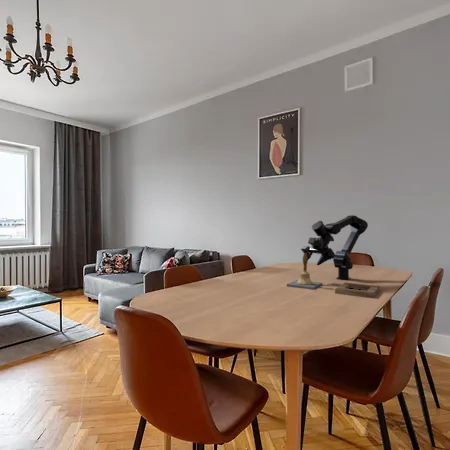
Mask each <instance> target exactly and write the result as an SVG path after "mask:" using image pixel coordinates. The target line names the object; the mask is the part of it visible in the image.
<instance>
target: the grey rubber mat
mask: <svg viewBox="0 0 450 450" xmlns="http://www.w3.org/2000/svg"><path fill="white" fill-rule="evenodd" d="M298 280H299V279H296V280H293V281H291V282H289V283H286V287H290V288H297V289H308V290H315V289H317V288H319V287H321V286H322V285H323V282H319V281H312V282H313V284H312V285H301V284H297V281H298Z"/></svg>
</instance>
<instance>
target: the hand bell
mask: <svg viewBox="0 0 450 450" xmlns="http://www.w3.org/2000/svg"><path fill="white" fill-rule="evenodd" d="M308 262H309V260H308V256H307V253H303V256H302V264H303V270H302V272H300V276H299V279H297V280H298V281H297V284H301V285H312V284H313V282H314V281H312V280H311V276H310V272H308V270H307V269H308V268H307V267H308Z"/></svg>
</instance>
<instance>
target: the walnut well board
mask: <svg viewBox="0 0 450 450" xmlns="http://www.w3.org/2000/svg"><path fill="white" fill-rule="evenodd" d="M349 288H353V289H349ZM358 289H361V290H358ZM366 290H367V291H366ZM379 291H380V286H379V285H373V284H371V285H370V284H363V283H354V282H353V283H352V282H344V283H341V285H339V286H337V287H335V289H334V293H335V294H338V295H345V294H348V295H347V296H353V295H356V296H355V297H361V296H363V297H362V298H369V297H370V299H373V298H374V297H375V296H376V295H377V294H378V293H379ZM377 292H378V293H377ZM376 293H377V294H376Z"/></svg>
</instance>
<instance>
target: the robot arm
mask: <svg viewBox="0 0 450 450" xmlns="http://www.w3.org/2000/svg"><path fill="white" fill-rule="evenodd" d="M347 226H350V231H351V232H350V234H349V236H348V237H347V240H346V241H345V243H344V246H343V247H342V249H341V250H336V251H335V252H334V251H333V249H332V248H331V247H329V244H330V243H331V242H335V239H334V236H332V235H338V234H339V233H340V232H342V229H344V228H345V227H347ZM368 226H369V224H368V222H367V220H364V219H362V218H360V217H358V216H357V215H355V214H354V215H350V214H349V215H347V216H346V217H344V218H342V219H340V220H338V221H336V222H330V223H326V224H324V221H322V220H318V221H317V222H315V223H314V224H312V225H311V229H312V231H313V232H314V234H316V236H318V237H309V238H308V242H307V243H308V245H311V247H310V246H307V245H303V246H302V247H301V248H300V250H301V251H302V253H303V254H304V253H307V256H308V261H309V259H311V258H312V255H313V254H317V255H320V257H319V258H318V260H317V262H316V266H317V267H318V266H321V265H322V264H323V263H325V262H328V261H329V260H332V261H333V265H334V267H335V268H337V270H338V271H337V272H338V273H337V274H338V275H337V277H336V278H335V279H336V280H347V281H348V280H351V277H350V274H349V273H350V272H349V271H350V270H353V266H354V265H353V263H352V262H351V260H352V259H351V252H352V251H353V248H354V247H355V245H356V243H357V241H358V239H359V238H360V236H361V235H362V234H364V233H365V232H366V230H368Z"/></svg>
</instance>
